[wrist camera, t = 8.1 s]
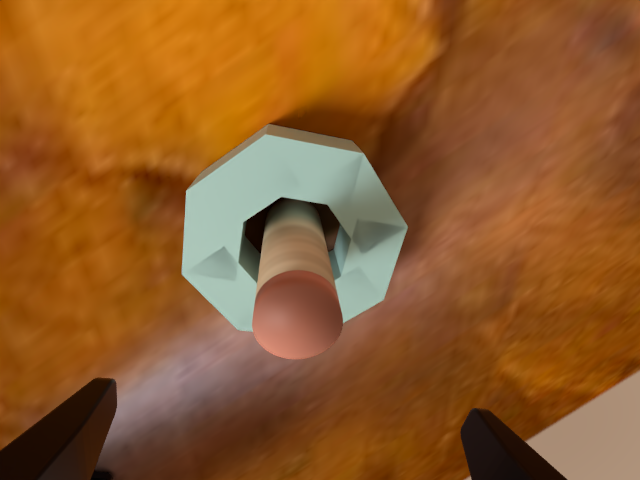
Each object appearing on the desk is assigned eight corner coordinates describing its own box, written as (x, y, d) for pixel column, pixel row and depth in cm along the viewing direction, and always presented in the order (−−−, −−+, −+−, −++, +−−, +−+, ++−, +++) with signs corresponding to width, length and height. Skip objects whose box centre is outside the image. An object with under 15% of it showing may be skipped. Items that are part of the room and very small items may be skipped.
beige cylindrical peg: (314, 252, 20) (332, 362, 13) (261, 244, 20) (246, 354, 12) (325, 203, 19) (352, 292, 12) (269, 193, 19) (258, 280, 11)
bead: (358, 310, 22) (368, 343, 20) (192, 290, 21) (179, 323, 18) (407, 151, 18) (428, 166, 16) (205, 111, 17) (190, 119, 14)
